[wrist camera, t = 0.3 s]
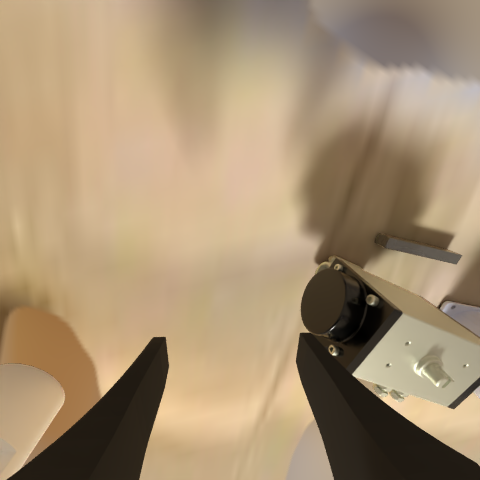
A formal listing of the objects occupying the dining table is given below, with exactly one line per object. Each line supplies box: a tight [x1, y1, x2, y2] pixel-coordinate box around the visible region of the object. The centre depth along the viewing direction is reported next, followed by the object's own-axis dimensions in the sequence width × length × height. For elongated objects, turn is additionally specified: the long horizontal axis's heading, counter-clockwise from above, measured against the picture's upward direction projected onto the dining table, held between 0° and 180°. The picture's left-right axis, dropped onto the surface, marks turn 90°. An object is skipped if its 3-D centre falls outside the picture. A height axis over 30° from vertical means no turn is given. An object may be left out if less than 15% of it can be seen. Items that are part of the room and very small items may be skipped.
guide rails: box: [375, 233, 462, 264], centre depth 23 cm, size 8×11×2 cm
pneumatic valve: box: [301, 255, 480, 409], centre depth 17 cm, size 6×12×12 cm, turn 64°
